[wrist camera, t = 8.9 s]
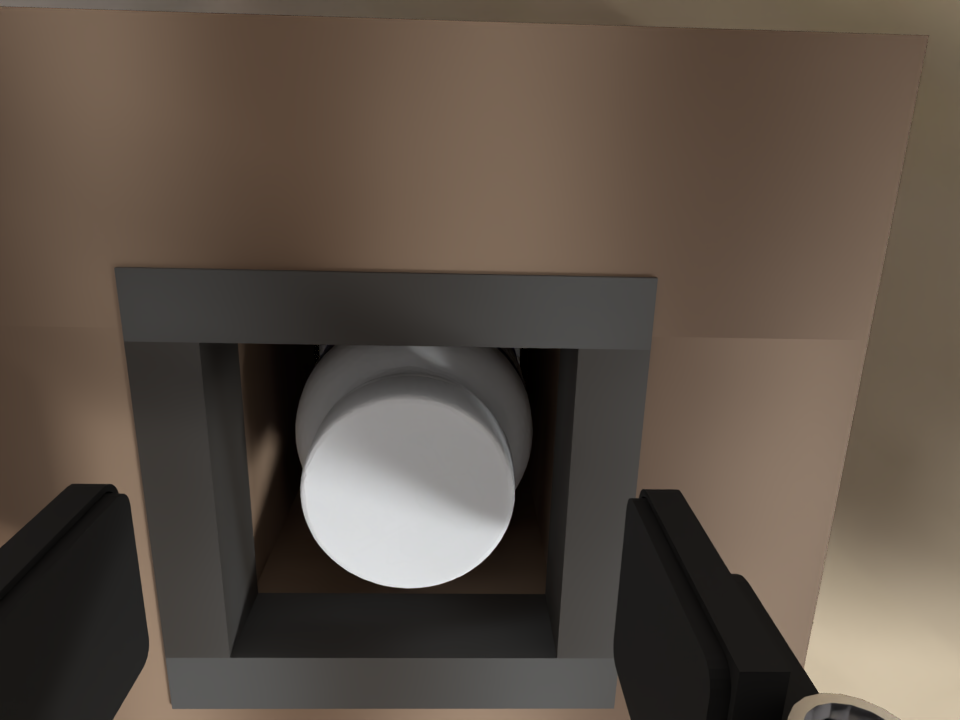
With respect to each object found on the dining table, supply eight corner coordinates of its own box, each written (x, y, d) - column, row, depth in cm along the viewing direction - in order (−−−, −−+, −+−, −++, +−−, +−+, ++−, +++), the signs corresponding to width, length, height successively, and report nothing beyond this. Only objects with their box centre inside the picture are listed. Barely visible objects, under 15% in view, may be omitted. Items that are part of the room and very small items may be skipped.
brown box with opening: (708, 79, 20) (933, 34, 11) (652, 573, 25) (771, 847, 15) (126, 62, 20) (-191, -1, 10) (185, 570, 24) (10, 852, 15)
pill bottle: (394, 463, 23) (355, 661, 14) (303, 321, 21) (200, 449, 13) (544, 386, 22) (597, 546, 14) (461, 234, 21) (462, 308, 12)
